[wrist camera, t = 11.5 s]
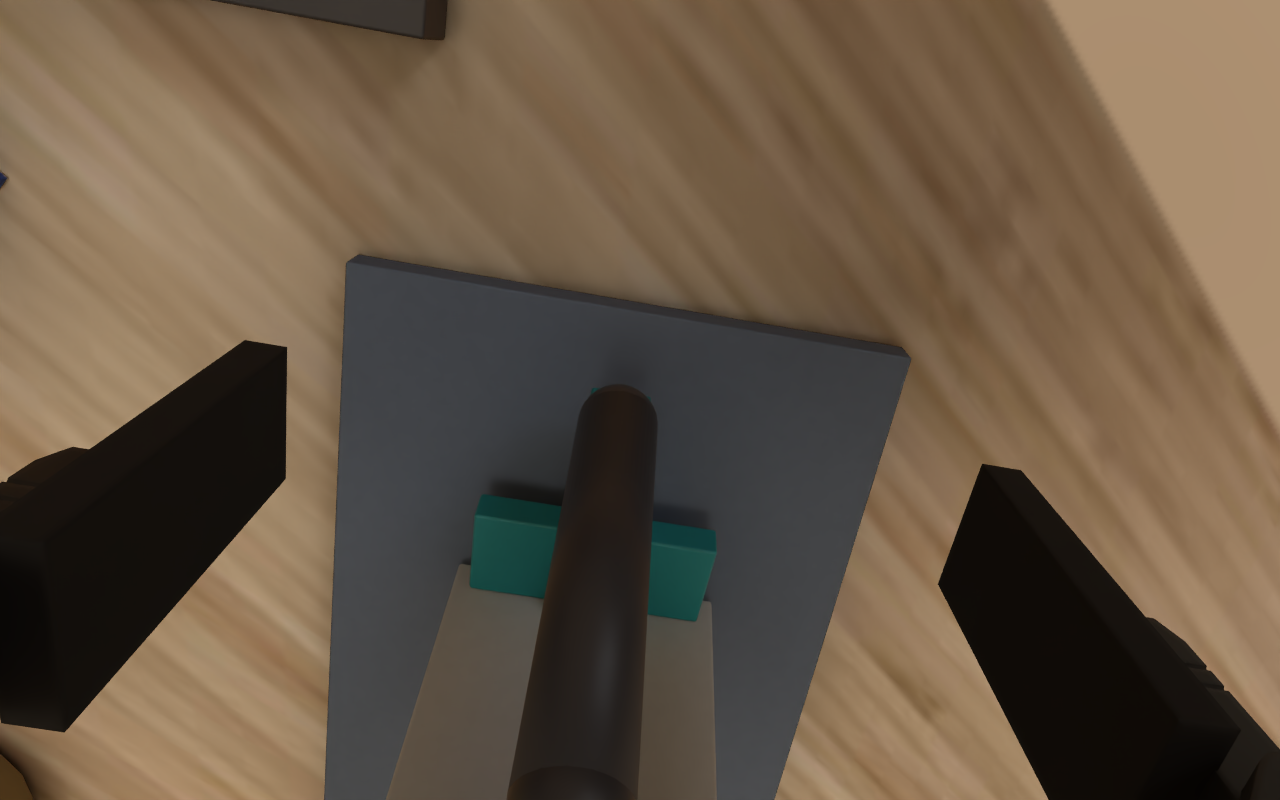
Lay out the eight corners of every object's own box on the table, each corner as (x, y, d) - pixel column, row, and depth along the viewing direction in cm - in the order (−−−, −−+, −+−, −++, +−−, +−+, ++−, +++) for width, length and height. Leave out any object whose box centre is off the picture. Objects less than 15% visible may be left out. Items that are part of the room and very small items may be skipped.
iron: (717, 1370, 14) (910, 1212, 9) (235, 1319, 14) (137, 1123, 9) (703, 626, 27) (779, 384, 22) (458, 588, 27) (473, 333, 22)
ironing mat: (903, 346, 25) (912, 358, 24) (721, 941, 35) (723, 966, 34) (357, 253, 24) (345, 261, 23) (328, 889, 34) (318, 913, 33)
